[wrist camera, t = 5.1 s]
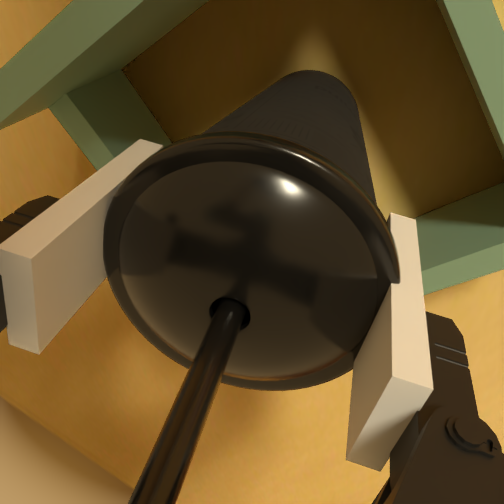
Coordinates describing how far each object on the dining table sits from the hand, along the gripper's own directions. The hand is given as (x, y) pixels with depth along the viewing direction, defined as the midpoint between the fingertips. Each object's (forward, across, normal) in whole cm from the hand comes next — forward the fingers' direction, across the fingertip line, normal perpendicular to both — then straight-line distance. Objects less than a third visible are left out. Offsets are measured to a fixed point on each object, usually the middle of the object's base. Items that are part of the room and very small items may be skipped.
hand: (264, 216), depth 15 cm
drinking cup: (+10, 0, 0) cm, 10 cm away
